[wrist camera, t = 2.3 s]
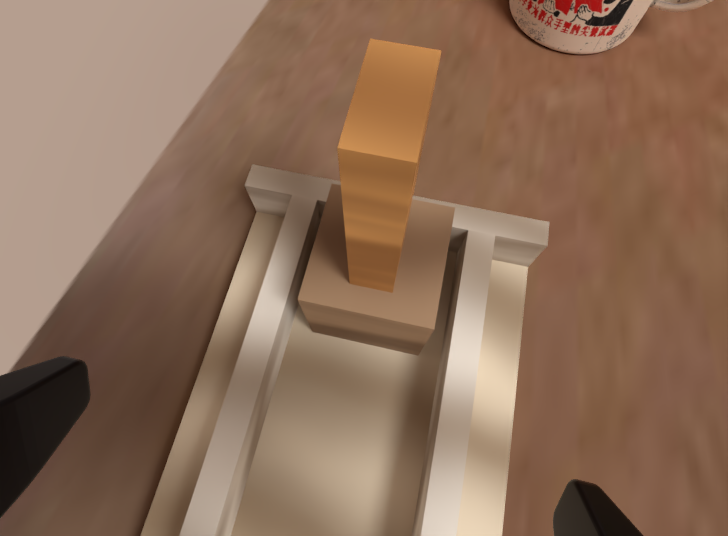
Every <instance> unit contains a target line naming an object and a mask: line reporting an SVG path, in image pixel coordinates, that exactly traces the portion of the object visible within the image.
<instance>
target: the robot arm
mask: <svg viewBox="0 0 728 536" xmlns="http://www.w3.org/2000/svg"><path fill="white" fill-rule="evenodd" d="M89 400H90V386H89V378H88V370H87V365H86V364H85V362H84V361H82V360H79V359H75V358H70V357H65V356H62V357H57V358H54V359H51V360H48V361H45V362H42V363H39V364H35V365H32V366H29V367H26V368H23V369H20V370H17V371H14V372H11V373H7V374H4V375H1V376H0V518H1V517H2V516H3V515H4V513H5V512H6V511H7V510H8V509H9V508H10V507H11V505H12V504H13V503H14V502H15V501H16V500H17V499H18V497H19V496H20V495H21V494H22V493H23V492H24V490H25V489H26V488H27V487H28V486H29V484H30V483H31V482H32V481H33V479H34V478H35V477H36V476H37V474H38V473H39V472H40V470H41V469H42V468H43V466H44V465H45V464H46V462H47V461H48V460H49V458H50V457H51V455H52V454H53V453H54V451H55V450H56V449H57V447H58V446H59V444H60V443H61V442H62V440H63V439H64V438H65V436H66V435H67V433H68V432H69V431H70V429H71V428H72V427H73V425H74V424H75V422H76V421H77V420H78V418H79V417H80V416H81V414H82V413H83V411H84V410H85V409H86V407H87V405H88V403H89ZM553 529H554V536H643V535H642V534H641V532H640V531H639V530H638V529H637V528H636V527H635V526H634V525H633V524H632V522H631V521H630V520H629V519H628V518H627V517H626V516H625V515H624V514H623V512H622V511H621V510H620V509H619V508H618V507H617V506H616V505H615V504H614V502H613V501H612V500H611V499H610V498H609V497H608V496H607V495H606V494H605V492H604V491H603V490H602V489H601V488H600V487H599V486H597V485H596V484H593V483H589V482H585V481H581V480H577V479H573V480H571V481H569V483H568V484H567V486H566V488H565V490H564V492H563V494H562V496H561V498H560V500H559V502H558V505H557V507H556V509H555V511H554V516H553Z"/></svg>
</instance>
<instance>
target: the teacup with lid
mask: <svg viewBox="0 0 728 536" xmlns="http://www.w3.org/2000/svg"><path fill="white" fill-rule="evenodd" d="M711 1H713V0H509V4H510V10H511V13H512V16H513V18H514V20H515V22H516V23H517V25H518V26H519V27H520V28H521V30H522V31H523V32H524V33H525V34H527V35H528V36H529V37H530V38H532V39H533V40H535V41H536V42H538V43H540V44H542V45H544V46H546V47H548V48H551V49H553V50H557V51H560V52H565V53H571V54H593V53H599V52H603V51H606V50H609V49H611V48H614V47H616V46H617V45H619V44H620V43H622V42H623V41H625V40H626V39H627V38H628V37H629V36H630V35H631V33H632V32H633V31H634V29H635V28H636V26H637V25H638V23H639V21H640V20H641V18H642V17H643V15H644V14H645V12H646V11H647V9H648V8H649V7H652V8H655V9H659V10H662V11H667V12H685V11H690V10H693V9H696V8H699V7H701V6H704V5H706V4H708V3H709V2H711Z"/></svg>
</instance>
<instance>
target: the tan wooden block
mask: <svg viewBox="0 0 728 536" xmlns="http://www.w3.org/2000/svg"><path fill="white" fill-rule="evenodd" d="M440 55H441V50H435V49H429V48H423V47H417V46H411V45H405V44H399V43H393V42H387V41H381V40H375V39H370V41H369V44H368V48H367V51H366V54H365V58H364V61H363V64H362V68H361V71H360V74H359V78H358V81H357V84H356V88H355V91H354V94H353V98H352V101H351V104H350V108H349V111H348V114H347V118H346V121H345V124H344V128H343V131H342V134H341V138H340V141H339V144H338V148H337V149H338V160H339V171H340V182H341V185H337V184H331V187H330V191H329V194H328V198H327V201H326V204H325V208H324V211H323V215H322V218H321V221H320V225H319V228H318V231H317V235H316V238H315V242H314V245H313V248H312V252H311V255H310V259H309V262H308V265H307V269H306V272H305V275H304V279H303V282H302V286H301V289H300V292H299V296H298V299H297V300H298V302H299V304H300V306H301V308H302V310H303V313H304V315H305V317H306V319H307V321H308V323H309V326H310V328H311V330H312V332H315V333H319V334H324V335H328V336H333V337H337V338H341V339H346V340H350V341H355V342H359V343H364V344H368V345H373V346H377V347H381V348H386V349H390V350H395V351H399V352H404V353H408V354H413V355H417V356H418V355H419V354H420V352H421V350H422V349H423V347H424V346H425V344H426V342H427V341H428V339H429V337H430V336H431V334H432V333H433V331H434V329H435V323H436V317H437V311H438V305H439V300H440V294H441V288H442V282H443V276H444V270H445V265H446V259H447V253H448V247H449V241H450V235H451V230H452V224H453V218H454V212H455V207H450V206H445V205H440V204H435V203H429V202H424V201H419V200H414V199H412V198H413V193H414V188H415V183H416V178H417V172H418V167H419V162H420V157H421V152H422V147H423V142H424V137H425V132H426V127H427V122H428V116H429V111H430V106H431V101H432V96H433V91H434V86H435V81H436V76H437V71H438V66H439V61H440Z"/></svg>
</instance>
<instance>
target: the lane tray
mask: <svg viewBox="0 0 728 536" xmlns="http://www.w3.org/2000/svg"><path fill="white" fill-rule="evenodd" d="M331 184H337V185H341V182H340V181H336V180H331V179H326V178H320V177H315V176H310V175H305V174H300V173H295V172H290V171H284V170H279V169H274V168H269V167H264V166H259V165H254V164H252V167H251V170H250V172H249V175H248V177H247V180H246V183H245V188H246V190H247V192H248V194H249V196H250V198H251V201H252V203H253V205H254V207H255V209H256V211H257V212H256V215H255V217H254V220H253V223H252V226H251V229H250V231H249V234H248V237H247V240H246V243H245V245H244V248H243V251H242V254H241V256H240V259H239V262H238V265H237V268H236V270H235V273H234V276H233V279H232V282H231V284H230V287H229V290H228V293H227V296H226V298H225V301H224V304H223V307H222V309H221V312H220V315H219V318H218V321H217V323H216V326H215V329H214V332H213V335H212V337H211V340H210V343H209V346H208V349H207V351H206V354H205V357H204V360H203V362H202V365H201V368H200V371H199V374H198V376H197V379H196V382H195V385H194V388H193V390H192V393H191V396H190V399H189V402H188V404H187V407H186V410H185V413H184V415H183V418H182V421H181V424H180V427H179V429H178V432H177V435H176V438H175V441H174V443H173V446H172V449H171V452H170V455H169V457H168V460H167V463H166V466H165V468H164V471H163V474H162V477H161V480H160V482H159V485H158V488H157V491H156V494H155V496H154V499H153V502H152V505H151V508H150V510H149V513H148V516H147V519H146V521H145V524H144V527H143V530H142V533H141V535H140V536H502V529H503V519H504V509H505V498H506V488H507V478H508V467H509V457H510V447H511V436H512V426H513V416H514V405H515V395H516V385H517V375H518V364H519V354H520V344H521V333H522V323H523V313H524V302H525V292H526V282H527V271H528V266H529V265H530V264H531V263H532V262H533V261H534V260H535V259H536V258H537V257H538V255H539V254H540V253H541V252H542V251H543V250H544V249H545V248H546V247H547V245H548V233H549V222H546V221H541V220H536V219H531V218H526V217H520V216H515V215H510V214H505V213H500V212H495V211H490V210H484V209H479V208H474V207H469V206H464V205H459V204H454V203H449V202H443V201H438V200H433V199H428V198H423V197H418V196H413V198H412V199H414V200H419V201H424V202H429V203H435V204H440V205H445V206H450V207H455V212H454V218H453V224H452V230H451V235H450V241H449V247H448V253H447V259H446V265H445V270H444V276H443V282H442V288H441V294H440V300H439V305H438V311H437V317H436V323H435V329H434V331H433V333H432V334H431V336H430V337H429V339H428V341H427V342H426V344H425V346H424V347H423V349H422V350H421V352H420V354H419V355H418V356H417V355H413V354H408V353H404V352H399V351H395V350H390V349H386V348H381V347H377V346H373V345H368V344H364V343H359V342H355V341H350V340H346V339H341V338H337V337H333V336H328V335H324V334H319V333H315V332H312V330H311V328H310V326H309V323H308V321H307V319H306V317H305V315H304V313H303V310H302V308H301V306H300V304H299V302H298V300H297V299H298V296H299V292H300V289H301V286H302V282H303V279H304V275H305V272H306V269H307V265H308V262H309V259H310V255H311V252H312V248H313V245H314V242H315V238H316V235H317V231H318V228H319V225H320V221H321V218H322V215H323V211H324V208H325V204H326V201H327V198H328V194H329V191H330V187H331Z"/></svg>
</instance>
